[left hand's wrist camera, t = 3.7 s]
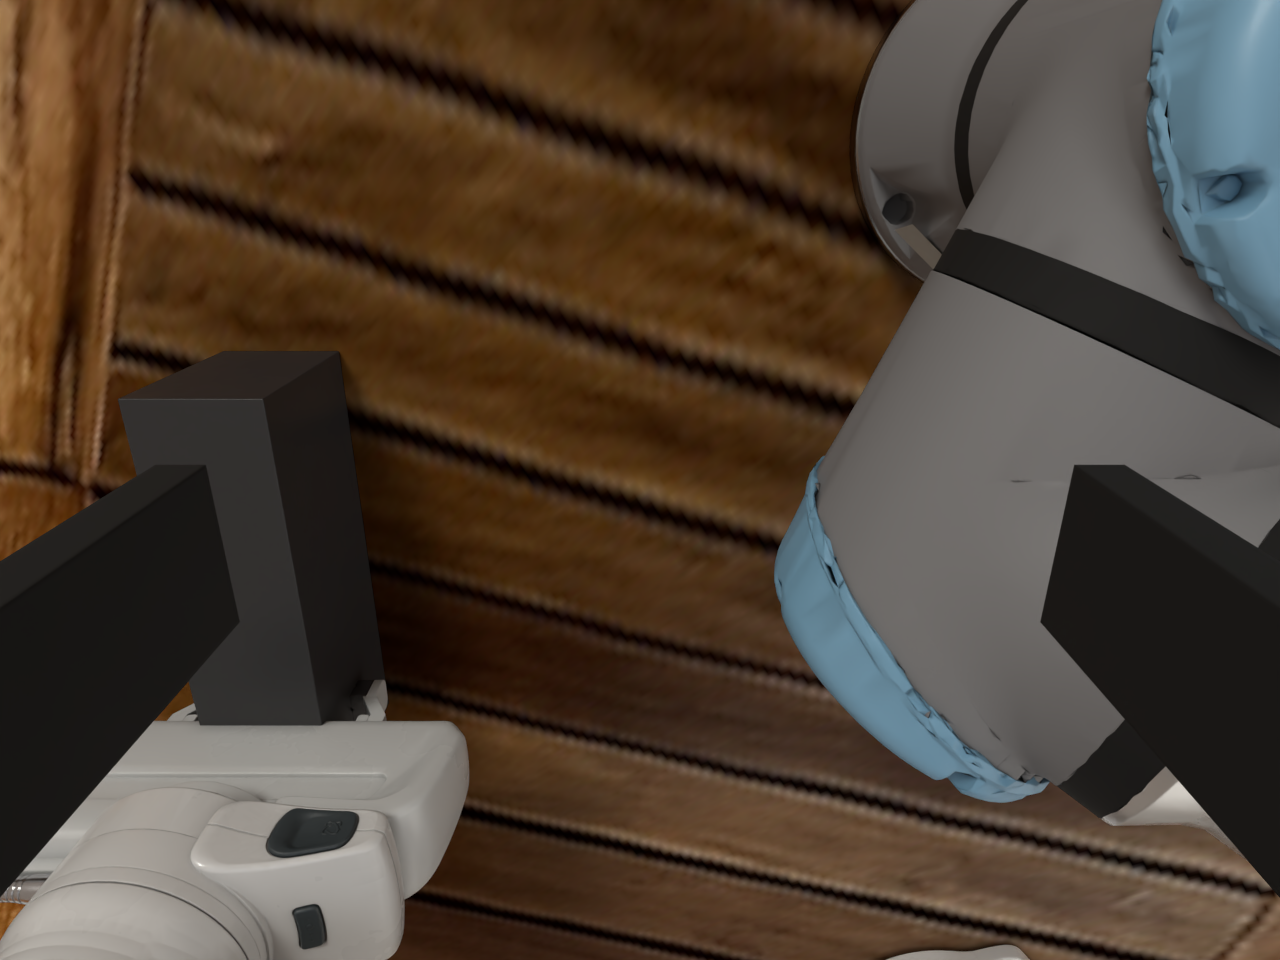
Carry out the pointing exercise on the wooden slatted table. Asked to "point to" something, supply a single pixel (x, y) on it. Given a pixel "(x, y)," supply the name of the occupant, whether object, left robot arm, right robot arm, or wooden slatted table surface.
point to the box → (273, 529)
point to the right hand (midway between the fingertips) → (309, 689)
